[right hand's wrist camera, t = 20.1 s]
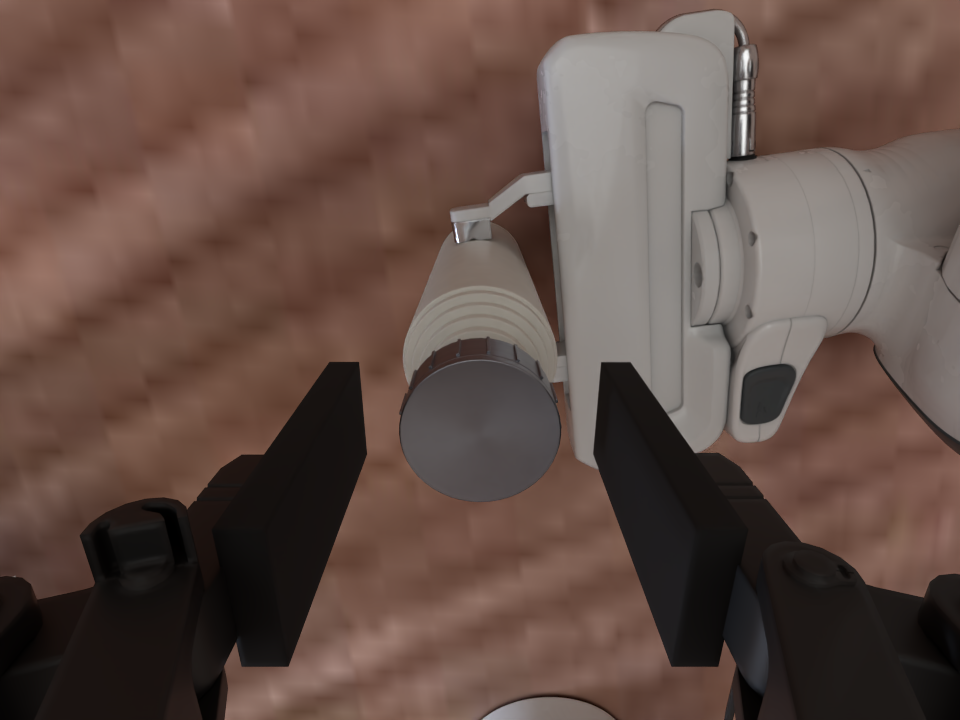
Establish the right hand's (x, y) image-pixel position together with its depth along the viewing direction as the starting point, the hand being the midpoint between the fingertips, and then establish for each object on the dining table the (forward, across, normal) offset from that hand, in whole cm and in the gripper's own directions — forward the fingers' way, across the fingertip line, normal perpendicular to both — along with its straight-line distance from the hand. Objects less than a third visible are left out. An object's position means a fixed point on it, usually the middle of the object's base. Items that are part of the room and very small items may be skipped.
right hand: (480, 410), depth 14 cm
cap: (-1, 0, 0) cm, 1 cm away
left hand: (+13, -1, 0) cm, 13 cm away
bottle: (+19, 0, 0) cm, 19 cm away
